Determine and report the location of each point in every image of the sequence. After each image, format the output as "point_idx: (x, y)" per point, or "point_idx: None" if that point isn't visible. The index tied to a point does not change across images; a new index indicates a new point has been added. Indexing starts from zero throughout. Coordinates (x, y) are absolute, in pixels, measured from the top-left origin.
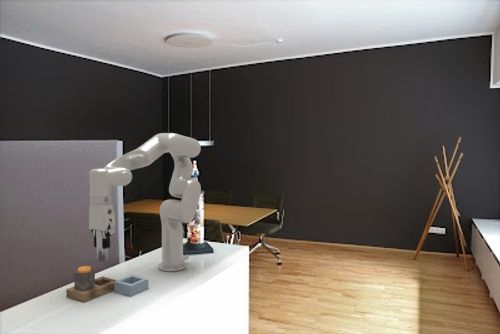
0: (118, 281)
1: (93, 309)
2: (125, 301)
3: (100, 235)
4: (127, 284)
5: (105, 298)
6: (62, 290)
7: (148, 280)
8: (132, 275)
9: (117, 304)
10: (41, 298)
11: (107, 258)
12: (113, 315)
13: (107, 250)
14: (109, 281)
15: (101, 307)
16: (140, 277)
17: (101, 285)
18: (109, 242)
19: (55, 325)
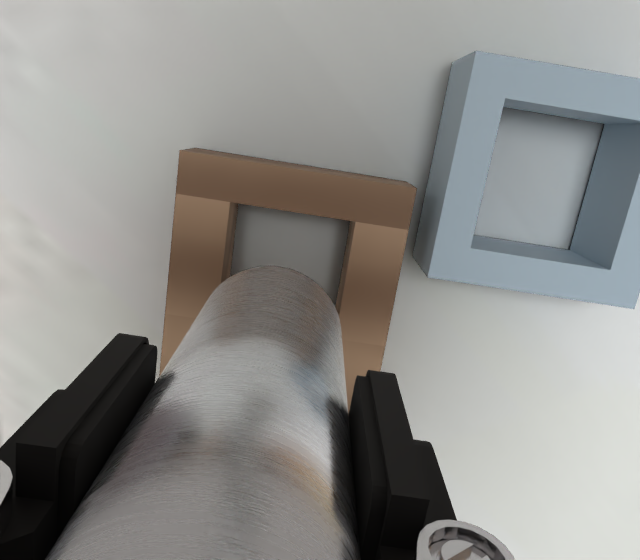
0: (463, 262)
1: (469, 515)
2: (591, 356)
3: None
4: (584, 290)
5: (426, 366)
6: (27, 367)
7: None
8: (493, 68)
9: (567, 412)
10: None
11: (337, 316)
12: (634, 533)
13: (337, 355)
14: (323, 214)
15: (496, 480)
16: (605, 87)
17: (343, 335)
18: (441, 477)
19: None
